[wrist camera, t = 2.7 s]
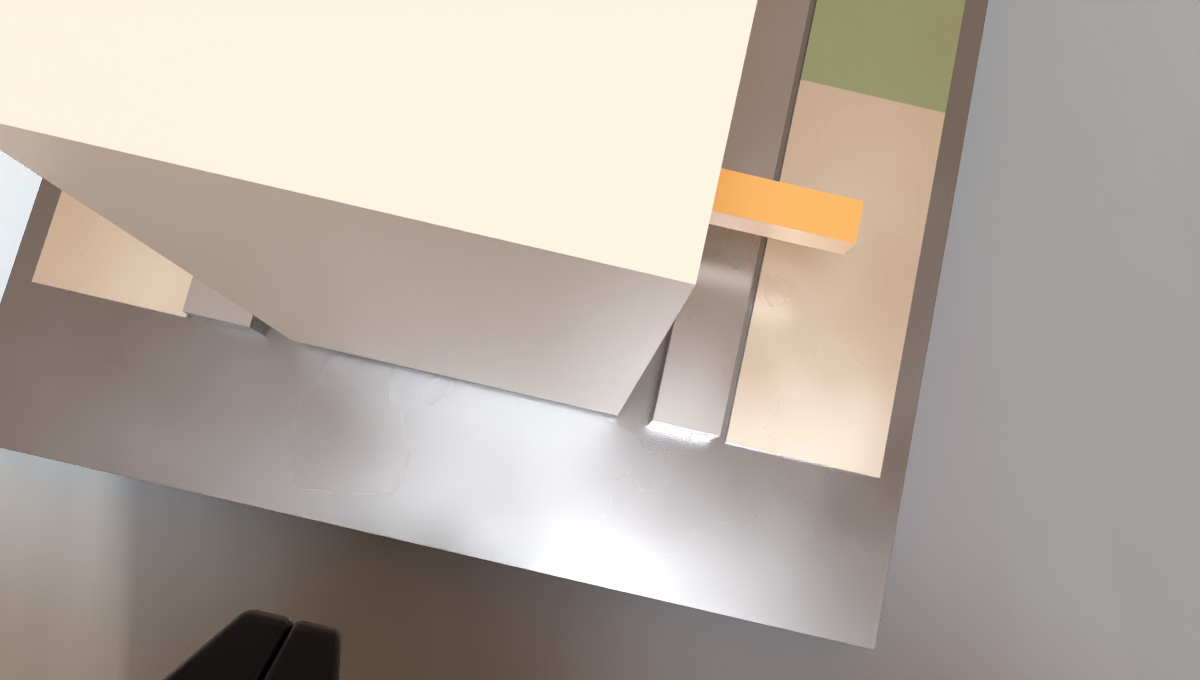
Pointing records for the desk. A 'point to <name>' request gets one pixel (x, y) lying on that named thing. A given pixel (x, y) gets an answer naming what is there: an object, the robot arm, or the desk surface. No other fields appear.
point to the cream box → (414, 167)
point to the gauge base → (556, 430)
